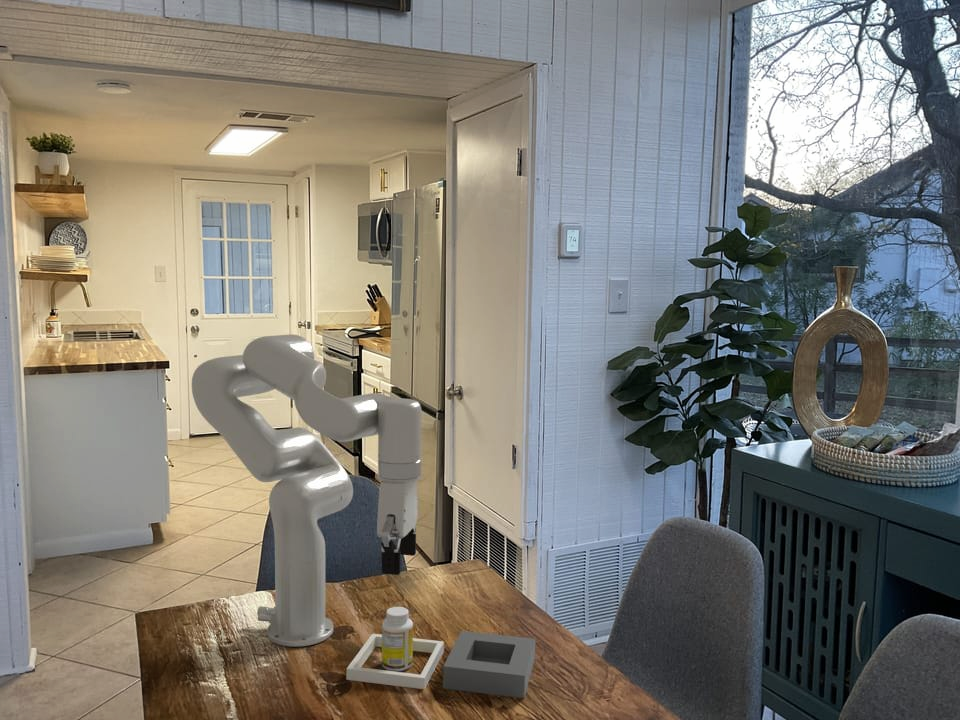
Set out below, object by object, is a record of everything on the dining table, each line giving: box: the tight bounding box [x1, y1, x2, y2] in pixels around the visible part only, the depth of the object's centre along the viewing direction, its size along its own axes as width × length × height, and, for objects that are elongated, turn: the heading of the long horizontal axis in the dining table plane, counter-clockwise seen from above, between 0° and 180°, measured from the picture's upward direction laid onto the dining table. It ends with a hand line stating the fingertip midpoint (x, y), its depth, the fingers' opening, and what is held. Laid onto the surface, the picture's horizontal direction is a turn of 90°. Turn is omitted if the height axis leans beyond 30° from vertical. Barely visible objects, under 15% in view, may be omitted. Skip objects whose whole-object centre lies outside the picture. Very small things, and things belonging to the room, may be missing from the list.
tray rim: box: [346, 633, 445, 690], centre depth 146 cm, size 14×14×2 cm
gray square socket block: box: [442, 630, 536, 699], centre depth 143 cm, size 14×14×4 cm
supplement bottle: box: [381, 606, 414, 672], centre depth 145 cm, size 6×6×10 cm
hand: (399, 563), depth 143 cm, fingers open, 9 cm apart
